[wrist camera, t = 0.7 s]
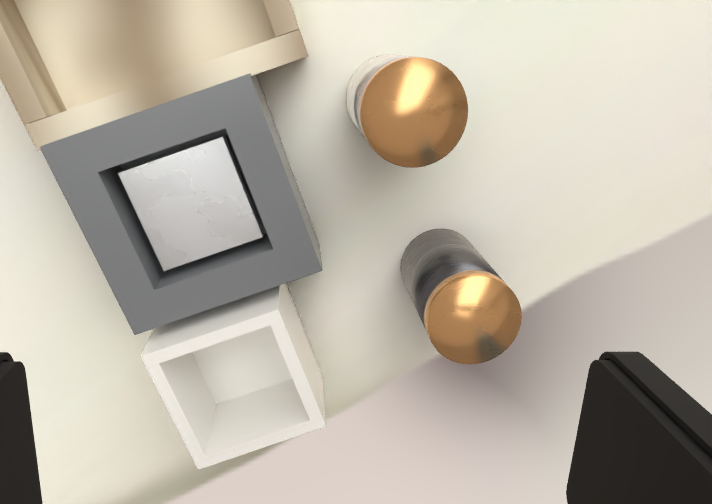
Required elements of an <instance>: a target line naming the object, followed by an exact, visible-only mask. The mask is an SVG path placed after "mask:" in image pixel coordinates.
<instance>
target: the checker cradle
mask: <svg viewBox="0 0 712 504" xmlns="http://www.w3.org/2000/svg"><path fill="white" fill-rule="evenodd" d="M224 134H225V137H226V139H227V142H228V144H229V147H230V149H231V152H232V154H233V157H234V159H235V162H236V164H237V167H238V169H239V172H240V174H241V177H242V179H243V182H244V184H245V187H246V189H247V192H248V194H249V197H250V199H251V202H252V204H253V207H254V209H255V212H256V214H257V217H258V219H259V222H260V224H261V227H262V229H263V232H264V233H263V237H262V238H259V239H256V240H253V241H250V242H247V243H244V244H241V245H238V246H236V247H233V248H230V249H227V250H224V251H221V252H218V253H215V254H212V255H209V256H207V257H204V258H201V259H198V260H195V261H192V262H189V263H186V264H183V265H180V266H177V267H175V268H172V269H169V270H166V271H163V268H162V266H161V264H160V262H159V260H158V258H157V256H156V254H155V251H154V249H153V247H152V245H151V243H150V241H149V239H148V236H147V234H146V232H145V230H144V228H143V226H142V224H141V222H140V219H139V217H138V215H137V213H136V211H135V209H134V207H133V204H132V202H131V200H130V198H129V196H128V194H127V192H126V190H125V187H124V185H123V183H122V181H121V179H120V177H119V175H118V173H119V172H120V171H122V170H123V169H126V168H129V167H132V166H135V165H138V164H141V163H143V162H146V161H149V160H152V159H155V158H158V157H161V156H164V155H166V154H169V153H172V152H175V151H178V150H181V149H184V148H187V147H190V146H192V145H195V144H198V143H201V142H204V141H207V140H210V139H213V138H215V137H218V136H221V135H224ZM40 149H41V151H42V153H43V155H44V157H45V159H46V160H47V162H48V164H49V166H50V168H51V170H52V172H53V174H54V176H55V178H56V180H57V182H58V184H59V186H60V188H61V190H62V192H63V194H64V196H65V198H66V200H67V202H68V204H69V206H70V208H71V210H72V212H73V214H74V216H75V218H76V220H77V222H78V224H79V226H80V228H81V230H82V232H83V234H84V236H85V238H86V240H87V242H88V244H89V246H90V247H91V249H92V251H93V253H94V255H95V257H96V259H97V261H98V263H99V265H100V267H101V269H102V271H103V273H104V275H105V277H106V279H107V281H108V283H109V285H110V287H111V289H112V291H113V293H114V295H115V297H116V299H117V301H118V303H119V305H120V307H121V309H122V311H123V313H124V315H125V317H126V319H127V321H128V323H129V325H130V327H131V329H132V331H133V333H134V334H135V335H136V334H139V333H142V332H145V331H148V330H151V329H154V328H156V327H159V326H162V325H165V324H168V323H171V322H174V321H177V320H180V319H183V318H186V317H189V316H192V315H194V314H197V313H200V312H203V311H206V310H209V309H212V308H215V307H218V306H221V305H224V304H227V303H229V302H232V301H235V300H238V299H241V298H244V297H247V296H250V295H253V294H256V293H259V292H262V291H264V290H267V289H270V288H273V287H276V286H279V285H282V284H285V283H288V282H291V281H294V280H297V279H300V278H302V277H305V276H308V275H311V274H314V273H317V272H320V271H322V263H321V255H320V247H319V243H318V240H317V237H316V235H315V232H314V229H313V227H312V224H311V221H310V218H309V216H308V213H307V210H306V208H305V205H304V202H303V200H302V197H301V194H300V191H299V189H298V186H297V183H296V181H295V178H294V175H293V172H292V170H291V167H290V164H289V162H288V159H287V156H286V153H285V151H284V148H283V145H282V143H281V140H280V137H279V134H278V132H277V129H276V126H275V124H274V121H273V118H272V115H271V113H270V110H269V107H268V105H267V102H266V99H265V97H264V94H263V91H262V88H261V86H260V83H259V80H258V78H257V75H253V76H251V73H249V74H246V75H243V76H240V77H237V78H235V79H232V80H229V81H226V82H223V83H220V84H217V85H214V86H212V87H209V88H206V89H203V90H200V91H197V92H194V93H191V94H189V95H186V96H183V97H180V98H177V99H174V100H171V101H168V102H166V103H163V104H160V105H157V106H154V107H151V108H148V109H146V110H143V111H140V112H137V113H134V114H131V115H128V116H125V117H123V118H120V119H117V120H114V121H111V122H108V123H105V124H102V125H100V126H97V127H94V128H91V129H88V130H85V131H82V132H79V133H77V134H74V135H71V136H68V137H65V138H62V139H59V140H56V141H54V142H51V143H48V144H45V145H43V146H40Z"/></svg>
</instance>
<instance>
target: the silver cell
mask: <svg viewBox="0 0 712 504" xmlns="http://www.w3.org/2000/svg"><path fill="white" fill-rule="evenodd" d="M346 103H347V109H348V113H349V115H350V118H351V119H352V121H353V123H354V124H355V125H356V127H357V128H358V129H359V131H360V132H361V133H362V135H363V136H364V137H365V139H366V140H367V141H368V143H369V144H370V145H371V147H372V148H373V149H374V150H375V151H376V152H377V153H378V155H380V156H381V157H382V158H384V159H385V160H387V161H389V162H390V163H393V164H395V165H398V166H402V167H423V166H426V165H430V164H432V163H435V162H437V161H439V160H440V159H442V158H443V157H445V156H446V155H447V154H448V153H449V152H450V151H452V150H453V148H454V147H455V146H456V145H457V143H458V142H459V140H460V138H461V136H462V134H463V132H464V129H465V126H466V122H467V116H468V104H467V98H466V95H465V91H464V89H463V87H462V85H461V83H460V81H459V80H458V78H457V77H456V76H455V75H454V73H453V72H452V71H450V70H449V69H448V68H447V67H445V66H444V65H442V64H441V63H438V62H436V61H434V60H431V59H427V58H420V57H410V56H400V55H380V56H376V57H374V58H371V59H369V60H368V61H366V62H365V63H363V64H362V65H361V66H360V67H359V68H358V69H357V70H356V71H355V73H354V74H353V76H352V78H351V80H350V82H349V84H348V88H347V94H346Z"/></svg>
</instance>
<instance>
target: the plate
mask: <svg viewBox="0 0 712 504" xmlns="http://www.w3.org/2000/svg"><path fill="white" fill-rule="evenodd" d="M118 175H119V177H120V179H121V181H122V183H123V185H124V187H125V190H126V192H127V194H128V196H129V198H130V200H131V202H132V204H133V207H134V209H135V211H136V213H137V215H138V217H139V219H140V222H141V224H142V226H143V228H144V230H145V232H146V234H147V236H148V239H149V241H150V243H151V245H152V247H153V249H154V251H155V254H156V256H157V258H158V260H159V262H160V264H161V266H162V268H163V271H166V270H169V269H172V268H175V267H177V266H180V265H183V264H186V263H189V262H192V261H195V260H198V259H201V258H204V257H207V256H209V255H212V254H215V253H218V252H221V251H224V250H227V249H230V248H233V247H236V246H238V245H241V244H244V243H247V242H250V241H253V240H256V239H259V238H262V237H263V233H264V232H263V229H262V227H261V224H260V222H259V219H258V217H257V214H256V212H255V209H254V207H253V204H252V202H251V199H250V197H249V194H248V192H247V189H246V187H245V184H244V182H243V179H242V177H241V174H240V172H239V169H238V167H237V164H236V162H235V159H234V157H233V154H232V152H231V149H230V147H229V144H228V142H227V139H226V137H225V134H224V135H221V136H218V137H215V138H213V139H210V140H207V141H204V142H201V143H198V144H195V145H192V146H190V147H187V148H184V149H181V150H178V151H175V152H172V153H169V154H166V155H164V156H161V157H158V158H155V159H152V160H149V161H146V162H143V163H141V164H138V165H135V166H132V167H129V168H126V169H123V170H122V171H120V172H119V173H118Z"/></svg>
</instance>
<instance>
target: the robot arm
mask: <svg viewBox="0 0 712 504" xmlns="http://www.w3.org/2000/svg"><path fill="white" fill-rule="evenodd" d="M566 495H567V502H568V504H712V415H711V414H710V413H709V412H708V411H707V410H706V409H705V408H703V407H702V406H701V405H700V404H699V403H698V402H697V401H695V400H694V399H693V398H692V397H691V396H690V395H689V394H687V393H686V392H685V391H684V390H683V389H682V388H681V387H679V386H678V385H677V384H676V383H675V382H674V381H672V380H671V379H670V378H669V377H668V376H667V375H666V374H664V373H663V372H662V371H661V370H660V369H659V368H658V367H657V366H655V365H654V364H653V363H652V362H651V361H650V360H649V359H647V358H646V357H645V356H644V355H643V354H641V353H639V352H604V353H603V354H602V355H601V356H600V358H599V360H594V361H593V362H592V363H591V365H590V368H589V373H588V378H587V383H586V389H585V394H584V399H583V404H582V410H581V415H580V420H579V426H578V431H577V436H576V441H575V447H574V452H573V457H572V463H571V468H570V473H569V478H568V483H567V491H566ZM0 504H42V496H41V489H40V481H39V473H38V465H37V457H36V450H35V442H34V434H33V426H32V418H31V411H30V403H29V395H28V387H27V379H26V372H25V367H24V365H23V363H21V362H14V361H13V358H12V356H11V355H10V354H9V353H8V352H0Z"/></svg>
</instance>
